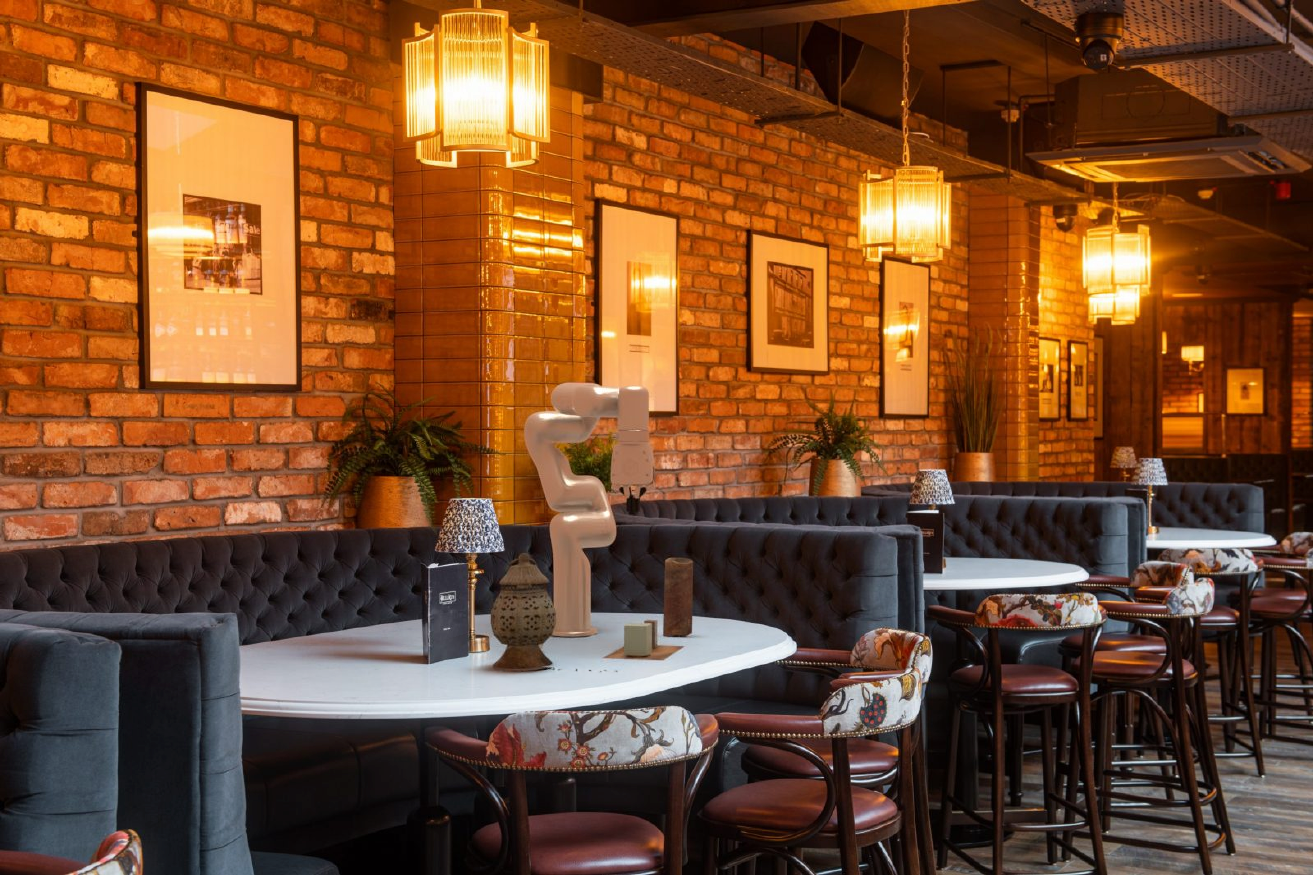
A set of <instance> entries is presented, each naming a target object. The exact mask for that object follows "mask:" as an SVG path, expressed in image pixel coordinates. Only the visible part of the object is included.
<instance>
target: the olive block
mask: <svg viewBox="0 0 1313 875" xmlns="http://www.w3.org/2000/svg"><path fill="white" fill-rule="evenodd" d="M623 647H624V655H643V656H647V655H648V654H650V653H652V623H644V622H643V623H642V622H628V623H627V624H625V625H623Z"/></svg>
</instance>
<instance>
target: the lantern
mask: <svg viewBox="0 0 1313 875" xmlns="http://www.w3.org/2000/svg"><path fill="white" fill-rule="evenodd" d="M517 562H518V564H515V563H517ZM531 563H532V564H531ZM513 564H514V565H513ZM498 582H499V583H498V585H499V586H500V592H499V594H498V596H497V597H496V599H495V600H494V602H493V605H492V608H491V611H490V626H491V629H492V633H493V636H494V637H495V638H496V639H497V641H498V642H500V643H501V645H506V648H505V651H504V652H503V654H502V655H501V656H500V658H498V659H497V660H496V661H495V662H494V663H493V665H492V669H494V670H495V671H501V672H506V673H508V672H509V673H534V672H543V671H548V670H552V669H554V667H552V666H551V665H553V664H554V663H553V661H552V660H551V659H549V657H548V656H547V655H545V653H544V652H543V651H542V649H540V647H539V645H540V644H543V645H544V644H545V643H546V642H547V641H548V639H550V637H551V636H553V635H552V633H553V631H554V628H555V625H556V610H555V608H554V602H553V601H552V599H551V596H549V593H548V591H547V587H546V584H549V583H550V580H549V579H548V577H546V575H544V574H543V573H542V572H541V570H540V568H538V565H537V563H536V561H535V559H533V558H531V557H530V555H529V554H528V553H526V552H522V553H520V554H519V556H518V558H515V559H513V560H512V561H510V563H509V564H508V571H507V572H506V574H505V575H504V576H503V577H502V578H501V580H500V581H498ZM550 666H551V667H550Z"/></svg>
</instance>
